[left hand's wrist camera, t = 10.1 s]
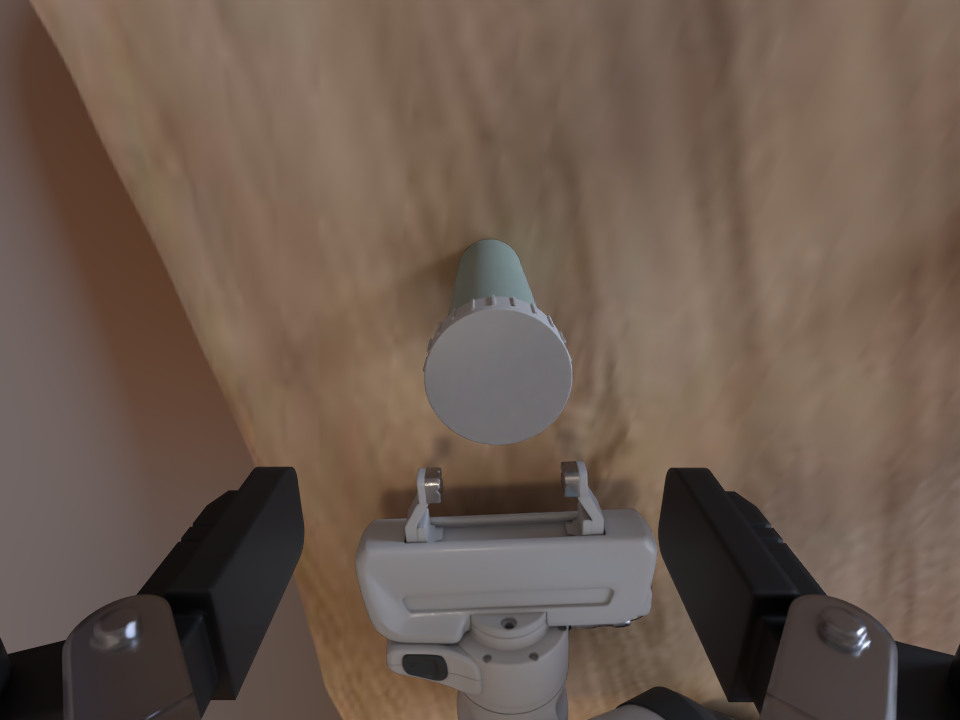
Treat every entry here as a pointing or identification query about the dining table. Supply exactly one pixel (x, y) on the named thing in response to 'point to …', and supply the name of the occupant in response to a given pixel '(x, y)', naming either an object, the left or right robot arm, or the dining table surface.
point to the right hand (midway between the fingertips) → (501, 469)
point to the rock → (720, 715)
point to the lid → (497, 371)
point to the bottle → (489, 274)
